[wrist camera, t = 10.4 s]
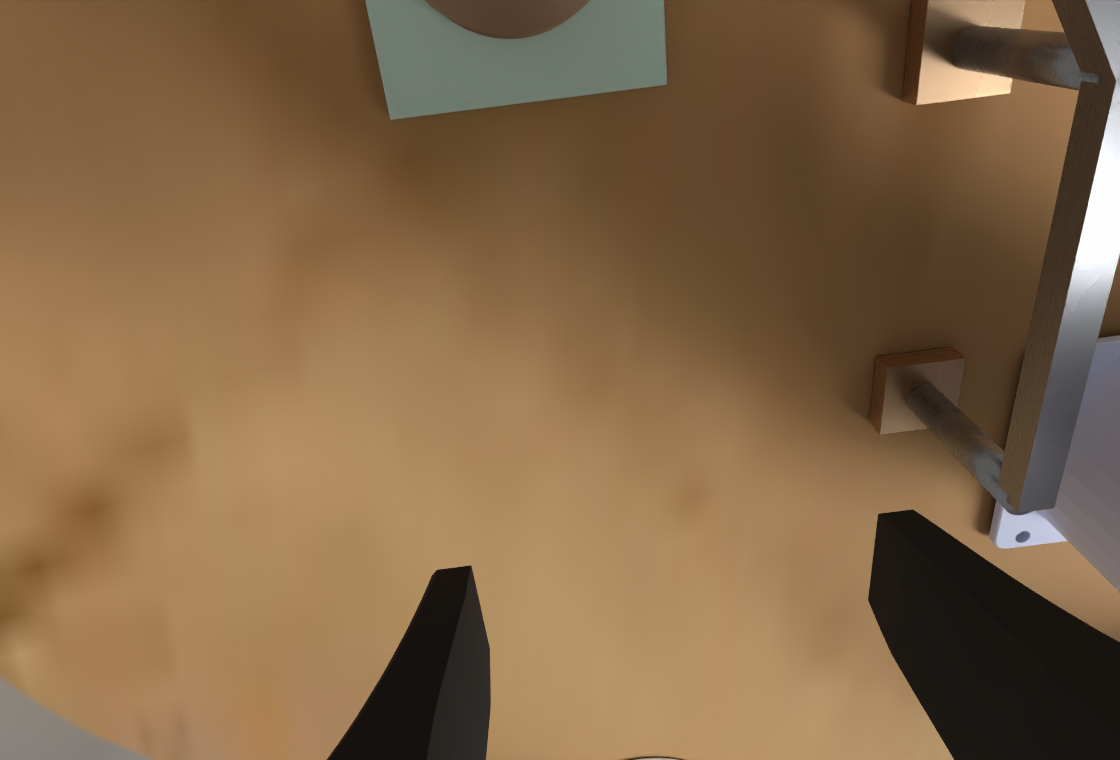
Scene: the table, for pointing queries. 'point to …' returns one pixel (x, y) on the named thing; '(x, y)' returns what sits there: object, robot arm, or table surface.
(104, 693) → the table surface
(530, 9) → the brown domed cylinder
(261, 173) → the table surface
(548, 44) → the pad
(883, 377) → the buzz wire
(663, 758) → the teacup and saucer
